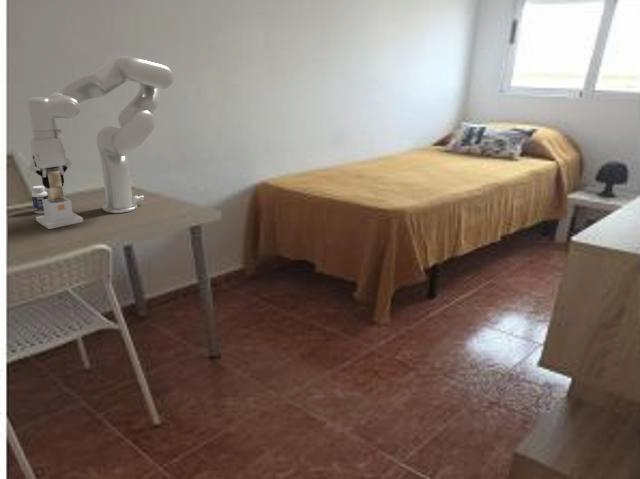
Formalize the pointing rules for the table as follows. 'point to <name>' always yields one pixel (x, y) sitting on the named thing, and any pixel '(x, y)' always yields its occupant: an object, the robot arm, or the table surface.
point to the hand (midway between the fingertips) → (54, 186)
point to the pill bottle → (38, 198)
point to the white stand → (58, 214)
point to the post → (54, 184)
